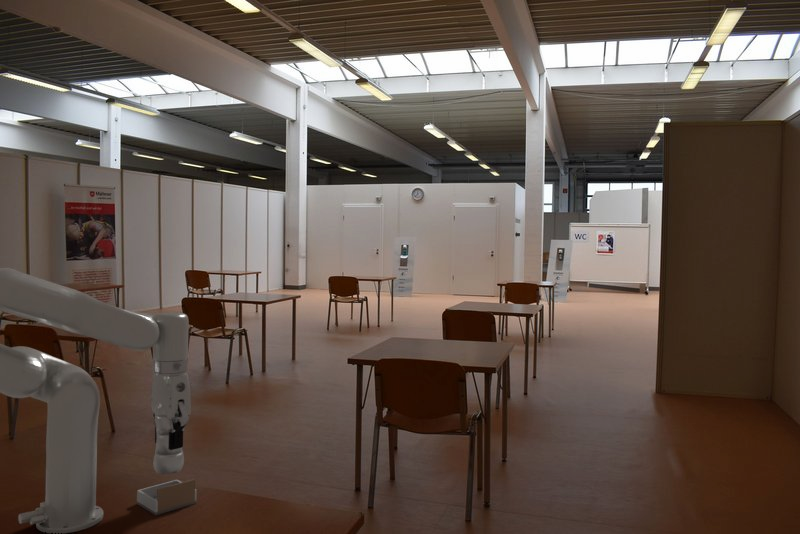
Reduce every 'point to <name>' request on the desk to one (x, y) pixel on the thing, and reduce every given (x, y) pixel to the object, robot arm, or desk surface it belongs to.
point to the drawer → (167, 496)
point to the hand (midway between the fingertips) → (168, 444)
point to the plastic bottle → (165, 445)
